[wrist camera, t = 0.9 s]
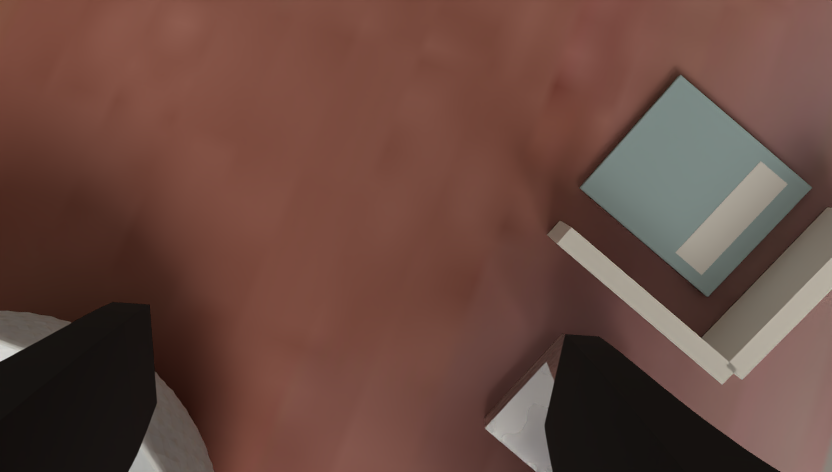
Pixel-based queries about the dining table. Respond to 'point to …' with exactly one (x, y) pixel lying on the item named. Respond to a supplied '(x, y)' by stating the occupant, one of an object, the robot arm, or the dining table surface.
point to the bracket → (528, 411)
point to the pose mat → (694, 186)
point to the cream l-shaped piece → (747, 318)
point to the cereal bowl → (170, 424)
